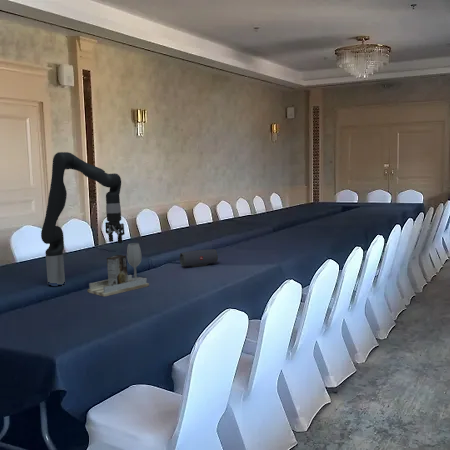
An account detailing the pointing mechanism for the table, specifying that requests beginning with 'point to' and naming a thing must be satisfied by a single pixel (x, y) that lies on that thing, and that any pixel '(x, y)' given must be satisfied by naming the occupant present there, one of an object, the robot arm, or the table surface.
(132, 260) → the wineglass
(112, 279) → the coffee box
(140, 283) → the track base
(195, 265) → the bluetooth speaker
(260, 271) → the table surface
